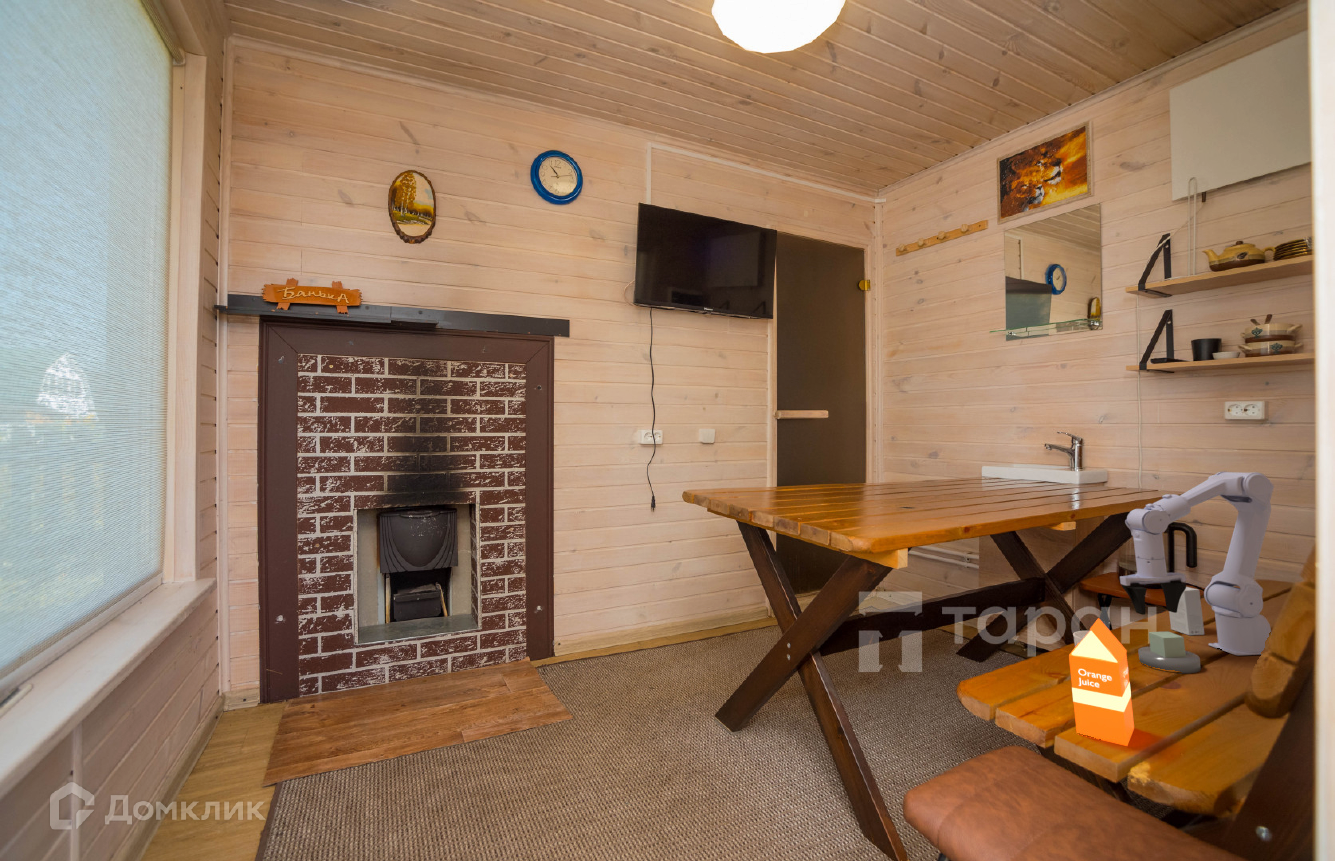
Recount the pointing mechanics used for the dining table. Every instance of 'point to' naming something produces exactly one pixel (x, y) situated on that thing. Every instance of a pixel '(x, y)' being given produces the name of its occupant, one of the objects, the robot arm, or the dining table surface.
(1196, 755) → the dining table surface
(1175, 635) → the green cube
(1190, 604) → the skincare box
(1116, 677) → the orange juice
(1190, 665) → the charcoal base
